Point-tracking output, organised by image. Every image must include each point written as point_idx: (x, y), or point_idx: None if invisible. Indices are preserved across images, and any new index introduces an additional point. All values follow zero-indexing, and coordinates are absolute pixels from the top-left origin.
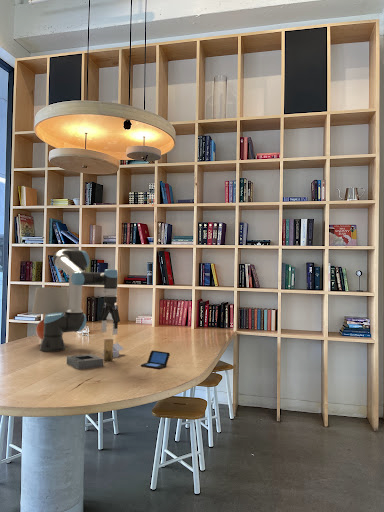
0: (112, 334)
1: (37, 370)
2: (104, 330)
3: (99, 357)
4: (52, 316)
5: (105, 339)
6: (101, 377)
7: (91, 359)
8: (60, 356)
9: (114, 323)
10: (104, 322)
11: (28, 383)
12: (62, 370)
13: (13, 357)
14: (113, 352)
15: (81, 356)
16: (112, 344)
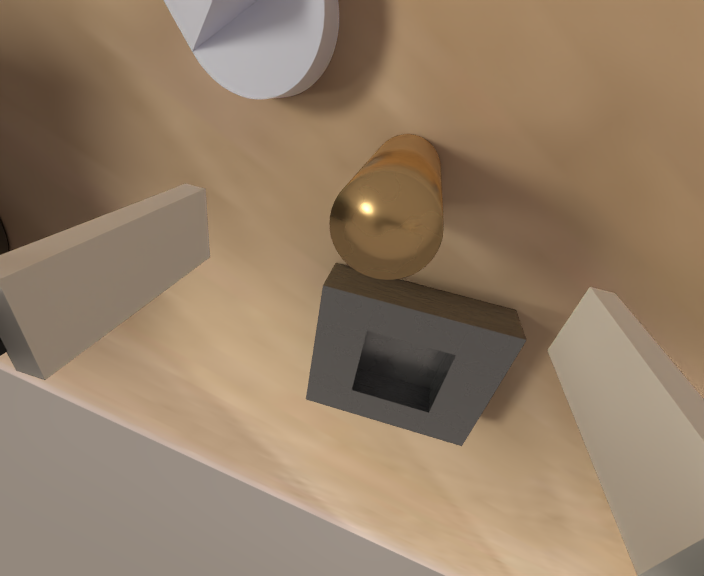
0: (549, 352)
1: (352, 474)
2: (194, 229)
3: (468, 327)
4: None
5: (355, 256)
6: None
7: (474, 387)
8: None
9: (697, 559)
10: (69, 307)
11: (482, 559)
12: (418, 445)
13: (103, 400)
14: (322, 40)
15: (357, 364)
16: (440, 196)
